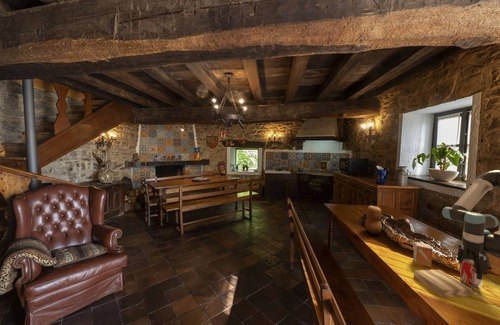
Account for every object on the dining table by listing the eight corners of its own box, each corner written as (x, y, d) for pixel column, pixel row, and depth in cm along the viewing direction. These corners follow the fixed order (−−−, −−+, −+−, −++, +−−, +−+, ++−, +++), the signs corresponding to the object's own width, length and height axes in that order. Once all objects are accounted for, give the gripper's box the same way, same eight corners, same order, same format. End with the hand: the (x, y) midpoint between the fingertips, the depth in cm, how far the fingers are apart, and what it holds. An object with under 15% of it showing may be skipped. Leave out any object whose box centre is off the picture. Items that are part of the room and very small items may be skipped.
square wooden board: (439, 276, 115) (439, 269, 115) (470, 296, 99) (471, 288, 99) (414, 276, 115) (414, 270, 114) (442, 297, 99) (442, 289, 98)
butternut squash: (385, 236, 169) (386, 208, 168) (369, 236, 170) (371, 208, 168) (375, 229, 183) (376, 204, 182) (361, 229, 184) (362, 204, 182)
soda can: (459, 277, 114) (460, 256, 113) (477, 282, 109) (478, 261, 108) (461, 283, 108) (463, 262, 108) (481, 289, 104) (482, 267, 103)
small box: (415, 264, 127) (416, 245, 126) (413, 259, 133) (414, 241, 132) (431, 268, 123) (432, 248, 122) (428, 263, 129) (429, 244, 128)
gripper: (449, 232, 117) (446, 268, 119) (484, 249, 98) (481, 291, 99) (462, 233, 117) (460, 268, 118) (501, 249, 97) (497, 292, 98)
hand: (469, 279), depth 109 cm, fingers closed on soda can, 7 cm apart
